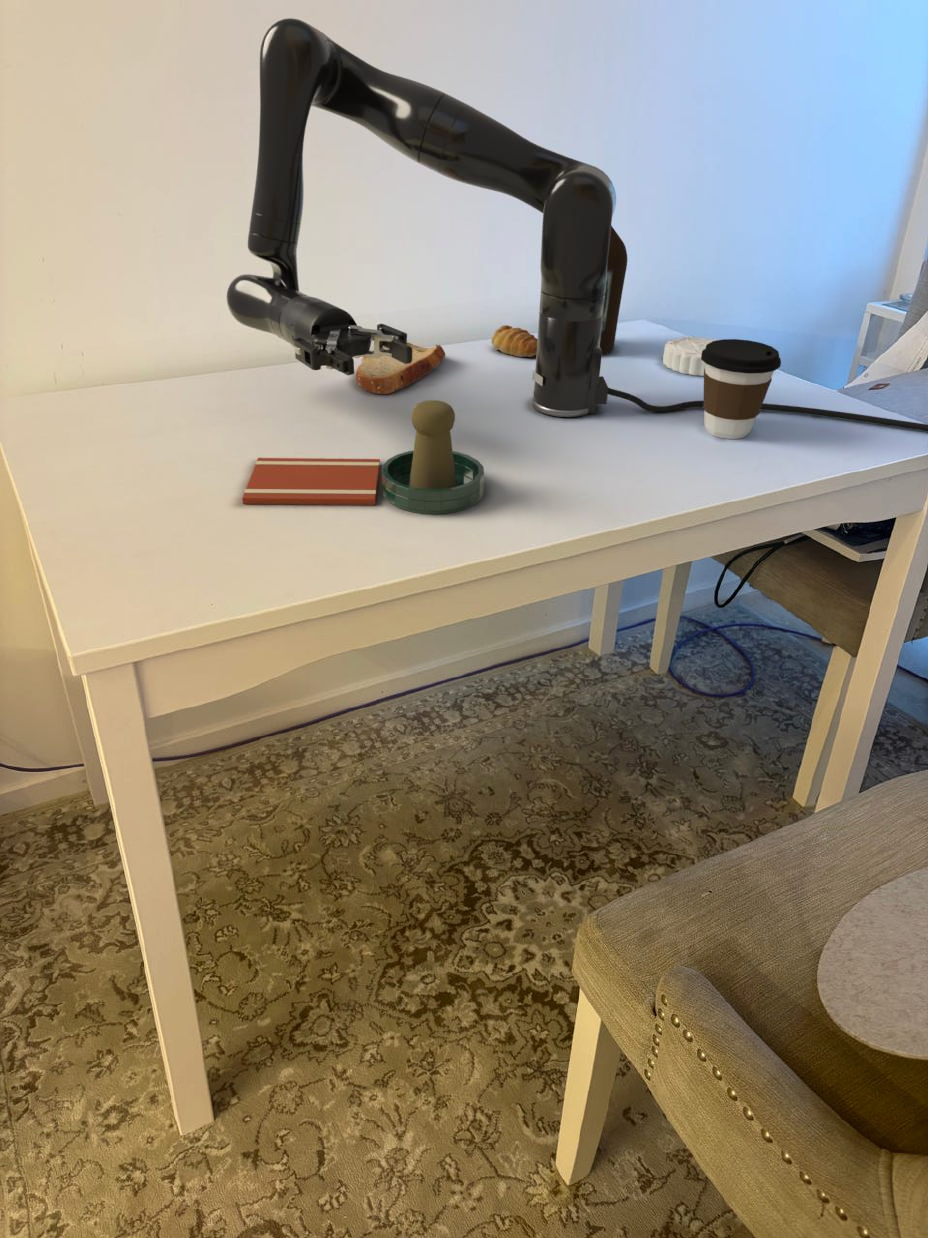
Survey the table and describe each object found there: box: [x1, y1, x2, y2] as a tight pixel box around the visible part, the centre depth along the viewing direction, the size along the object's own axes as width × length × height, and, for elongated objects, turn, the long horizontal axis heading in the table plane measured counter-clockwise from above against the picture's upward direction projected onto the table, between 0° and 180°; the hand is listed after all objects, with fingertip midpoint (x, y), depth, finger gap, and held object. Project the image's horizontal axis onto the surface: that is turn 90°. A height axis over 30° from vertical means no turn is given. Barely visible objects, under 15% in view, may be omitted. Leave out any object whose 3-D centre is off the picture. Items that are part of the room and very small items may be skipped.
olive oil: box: [600, 224, 628, 356], centre depth 158 cm, size 11×11×25 cm
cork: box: [409, 399, 457, 489], centre depth 111 cm, size 6×6×11 cm
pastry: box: [491, 324, 538, 358], centre depth 161 cm, size 9×7×4 cm
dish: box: [381, 449, 485, 515], centre depth 113 cm, size 13×13×3 cm
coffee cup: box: [701, 338, 782, 440], centre depth 130 cm, size 11×11×12 cm
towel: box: [241, 457, 381, 506], centre depth 115 cm, size 16×12×1 cm
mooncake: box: [662, 336, 718, 377], centre depth 157 cm, size 12×12×4 cm
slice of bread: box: [355, 342, 446, 395], centre depth 150 cm, size 18×18×4 cm
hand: (381, 361), depth 114 cm, fingers open, 8 cm apart
